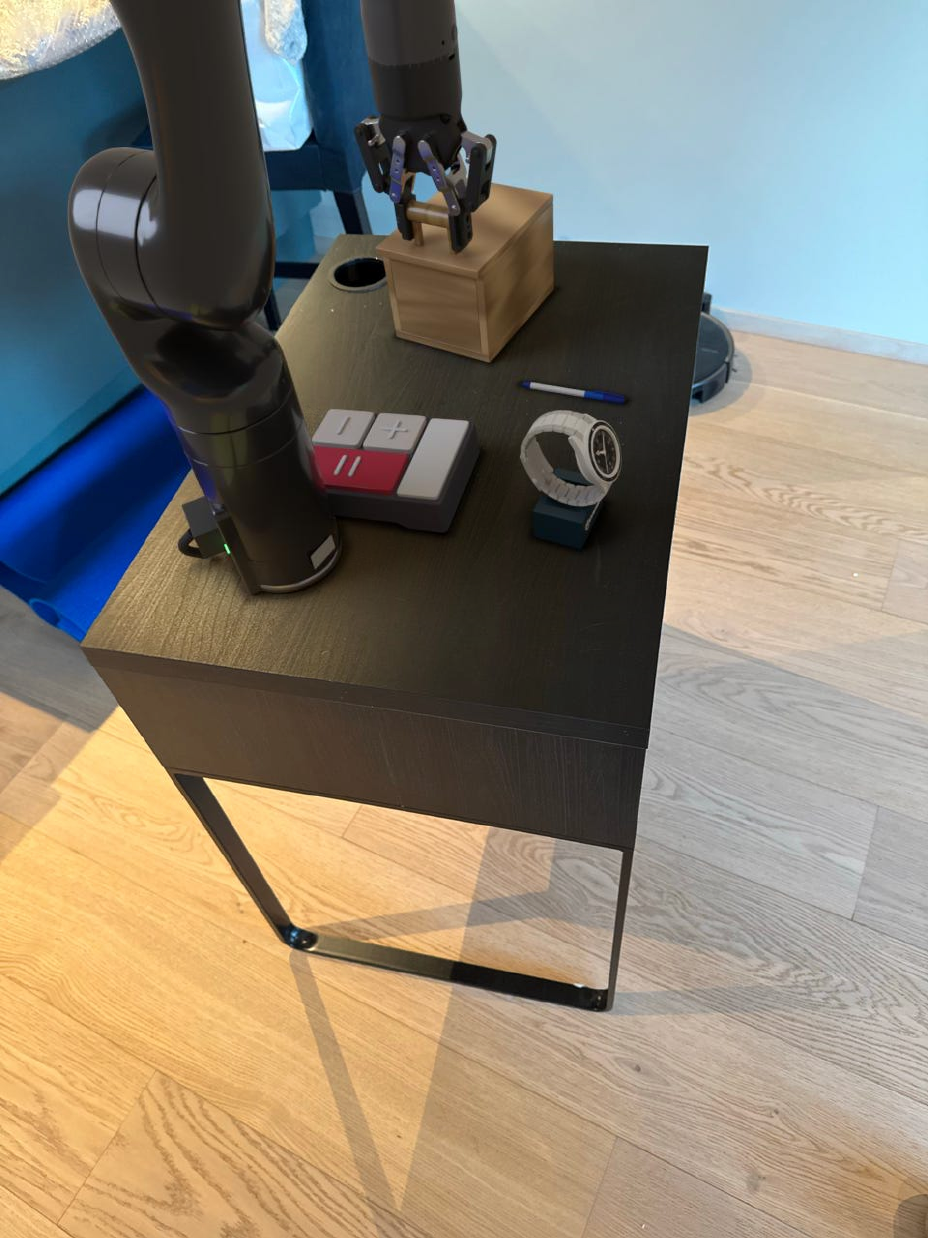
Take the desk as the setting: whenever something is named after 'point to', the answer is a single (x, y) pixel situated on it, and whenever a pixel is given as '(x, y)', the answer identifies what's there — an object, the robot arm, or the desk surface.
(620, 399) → the ballpoint pen
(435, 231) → the chest lid
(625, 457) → the desk surface
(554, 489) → the watch
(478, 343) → the chest
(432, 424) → the calculator
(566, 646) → the desk surface
